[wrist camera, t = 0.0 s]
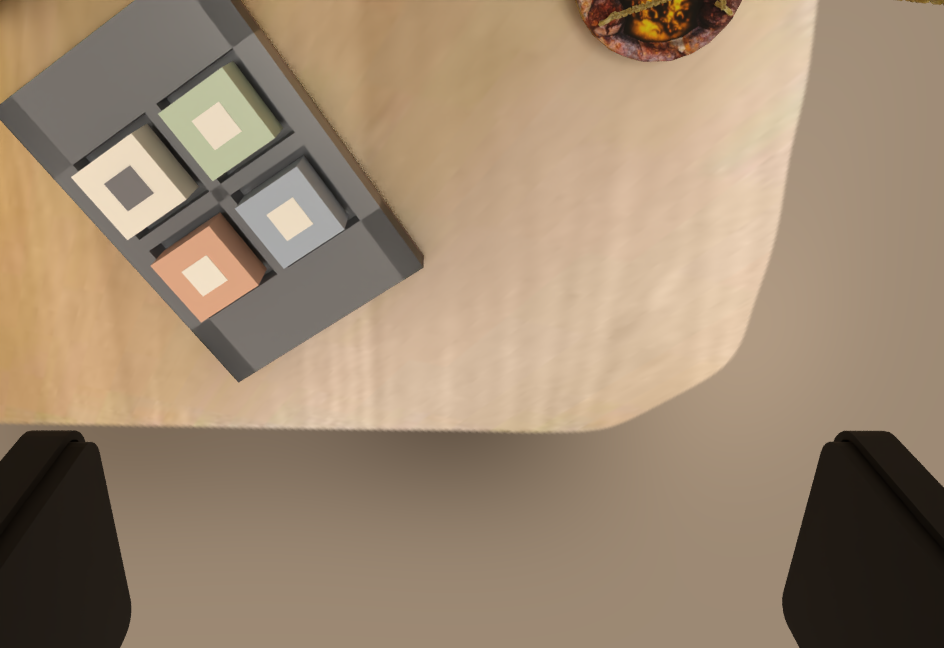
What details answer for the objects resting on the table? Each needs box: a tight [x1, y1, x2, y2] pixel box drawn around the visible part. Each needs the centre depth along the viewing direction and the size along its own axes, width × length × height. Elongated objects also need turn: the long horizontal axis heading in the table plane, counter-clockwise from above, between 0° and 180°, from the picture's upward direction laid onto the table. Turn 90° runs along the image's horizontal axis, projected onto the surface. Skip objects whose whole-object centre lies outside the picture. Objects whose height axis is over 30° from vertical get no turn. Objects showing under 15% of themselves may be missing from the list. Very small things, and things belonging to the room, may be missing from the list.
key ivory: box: [71, 124, 199, 240], centre depth 43 cm, size 4×4×3 cm
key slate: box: [235, 155, 349, 269], centre depth 44 cm, size 4×4×3 cm
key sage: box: [158, 61, 283, 181], centre depth 41 cm, size 4×4×3 cm
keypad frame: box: [0, 0, 424, 382], centre depth 45 cm, size 20×14×2 cm
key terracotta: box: [151, 213, 267, 322], centre depth 45 cm, size 4×4×3 cm
